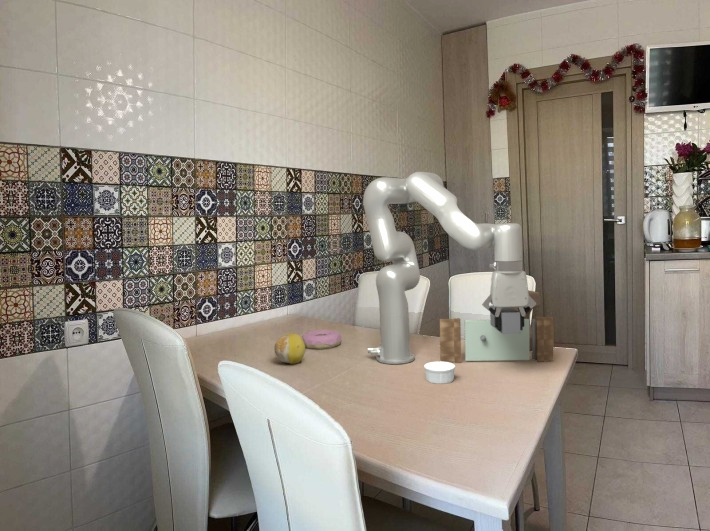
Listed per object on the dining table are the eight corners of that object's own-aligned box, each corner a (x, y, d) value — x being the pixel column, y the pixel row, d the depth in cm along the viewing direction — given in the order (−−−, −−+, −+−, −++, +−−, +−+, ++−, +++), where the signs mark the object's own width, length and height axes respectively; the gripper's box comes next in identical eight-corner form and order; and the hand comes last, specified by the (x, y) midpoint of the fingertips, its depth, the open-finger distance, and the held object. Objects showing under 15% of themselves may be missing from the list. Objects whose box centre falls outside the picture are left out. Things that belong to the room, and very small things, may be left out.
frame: (441, 363, 167) (440, 320, 166) (440, 361, 169) (439, 318, 168) (553, 361, 164) (553, 318, 163) (551, 359, 166) (551, 316, 165)
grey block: (502, 334, 148) (502, 313, 147) (490, 324, 160) (490, 305, 160) (520, 333, 148) (520, 312, 147) (506, 324, 160) (506, 304, 160)
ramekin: (448, 386, 144) (448, 371, 144) (419, 382, 149) (418, 367, 149) (459, 377, 152) (459, 363, 151) (431, 374, 157) (431, 359, 156)
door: (466, 362, 165) (465, 322, 164) (465, 359, 168) (464, 320, 167) (537, 361, 163) (537, 320, 162) (534, 358, 166) (534, 318, 165)
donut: (335, 339, 206) (335, 326, 206) (346, 348, 192) (346, 334, 191) (297, 343, 201) (296, 330, 201) (305, 352, 187) (305, 339, 186)
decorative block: (541, 350, 178) (540, 292, 176) (526, 352, 176) (526, 293, 175) (521, 343, 189) (521, 288, 187) (507, 344, 187) (507, 289, 185)
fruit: (292, 357, 181) (291, 329, 180) (312, 362, 173) (311, 333, 172) (268, 363, 174) (266, 334, 173) (287, 369, 166) (286, 339, 165)
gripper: (479, 269, 145) (481, 333, 146) (542, 267, 143) (543, 331, 145) (475, 266, 152) (477, 327, 154) (535, 264, 151) (536, 326, 152)
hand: (509, 329), depth 149 cm, fingers closed on grey block, 5 cm apart
